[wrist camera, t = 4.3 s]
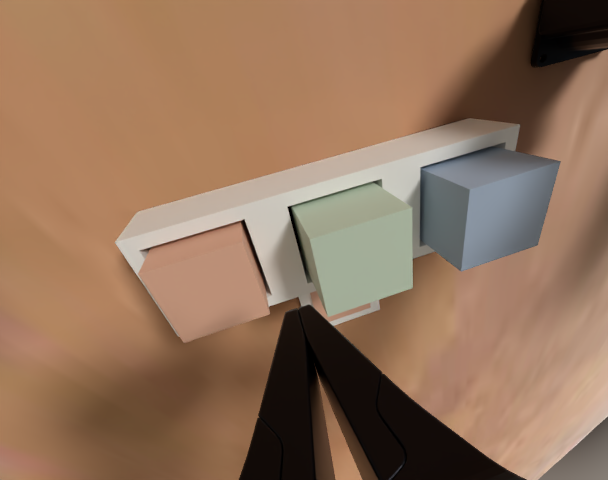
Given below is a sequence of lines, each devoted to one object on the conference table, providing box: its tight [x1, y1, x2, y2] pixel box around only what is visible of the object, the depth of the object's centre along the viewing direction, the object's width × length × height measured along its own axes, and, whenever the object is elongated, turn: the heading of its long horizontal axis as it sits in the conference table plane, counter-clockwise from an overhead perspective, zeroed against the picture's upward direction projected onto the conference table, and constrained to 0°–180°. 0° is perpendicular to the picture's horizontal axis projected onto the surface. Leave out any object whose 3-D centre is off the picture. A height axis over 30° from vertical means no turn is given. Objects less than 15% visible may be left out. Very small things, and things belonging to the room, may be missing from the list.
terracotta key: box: [138, 220, 270, 343], centre depth 17 cm, size 5×5×5 cm
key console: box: [115, 118, 520, 337], centre depth 19 cm, size 23×7×4 cm, turn 102°
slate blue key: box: [420, 146, 561, 271], centre depth 17 cm, size 5×5×5 cm
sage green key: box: [290, 182, 413, 317], centre depth 16 cm, size 5×5×5 cm
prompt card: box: [299, 291, 380, 326], centre depth 24 cm, size 7×6×1 cm
